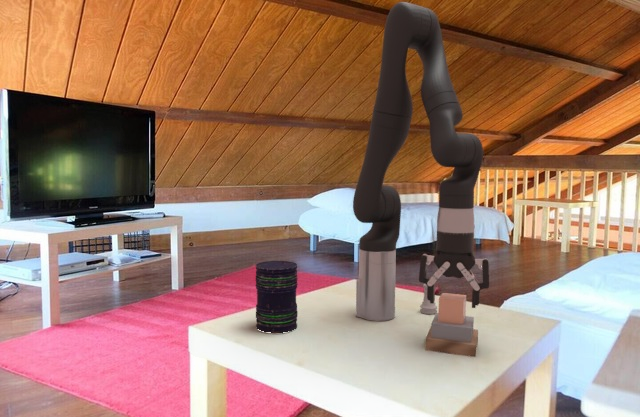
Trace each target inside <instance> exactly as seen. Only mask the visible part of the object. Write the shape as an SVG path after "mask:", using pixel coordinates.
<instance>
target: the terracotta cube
mask: <svg viewBox="0 0 640 417" xmlns="http://www.w3.org/2000/svg"><path fill="white" fill-rule="evenodd" d="M438 313H439V316H438V322H446V323H454V324H462V325H463V323H464V321H465V318H466V316H467V294H458V293H457V294H456V293H449V292H448V293H447V292H442V293H441V294H440V296H439V298H438Z"/></svg>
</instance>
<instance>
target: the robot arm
mask: <svg viewBox="0 0 640 417" xmlns="http://www.w3.org/2000/svg"><path fill="white" fill-rule="evenodd" d="M387 14H388V15H387V17H386V21H385V25H384V31H383V39H382V40H383V41H382V50H381V62H380V70H379V77H378V85H377V90H376V97H375V102H374V105H373V109H372V110H373V111H372V116H371V121H370V128H369V134H368V139H367V144H366V149H365V153H364V157H363V162H362V167H361V169H360V173H359V176H358V181H357V184H356V185H355V186H356V187H355V191H354V194H353V200H352V209H353V214H354V216H355V219H356V220H358V222H360V223H364V224H371V227H370V229H369V230H368V232H366V233H365V234H363V235H362V236H361V237H360V238H359V240H358V241H359V244H358V254H359V255H358V278H357V279H356V280H355V281H356V283H355V284H356V285H355V286H356V288H355V289H356V290H355V291H356V293H355V295H356V296H355V297H356V298H355V300H356V302H355V303H356V304H355V305H356V306H355V316H356V318H357V317H359V318H361V319H364V320H368V321H377V322H378V321H379V322H382V321H383V322H384V321H389V320H392V319H394V318H395V316H396V267H397V265H396V264H397V263H396V262H397V260H396V255H397V244H398V240H399V237H400V231H401V230H400V229H401V216H402V215H401V214H402V203H401V197H400V194H399V192H398V191H397V189H396V188H395V187H393V186H391V185H387V184H386V185H384V184H383V183H384V180H385V177H386V176H385V175H386V173H387V172H388V171H387V170H388V168H389V166H390V165H391V163H392V162H393V160H394V159H395V157H396V155H397V154H398V153H399V152H400V150H401V149H402V147H403V146H404V144H405V142H406V140H407V138H408V136H409V132H410V127H411V123H412V117H413V113H414V103H413V98H412V95H411V90H410V87H409V84H408V79H407V75H406V68H407V67H406V64H407V56H408V51H409V49H410V50H415V51H416V52H417V55H418V57H419V59H420V60H421V63H422V67H423V75H422V80H421V86H420V98H421V101H422V104H423V108H424V110H425V113H426V116H427V120H428V122H429V136H430V137H429V139H430V151H431V154H432V157H433V159H434V160H435V161H436V163H437V164H439V166H442V167H443V168H453V170H452V174H451V176H450V177H449V178H447V179H445V180H442V181H441V182H440V184H439V188H438V189H439V190H438V210H437V218H436V246H435V247H436V248H435V251H436V252H435V255H430V254H429V255H428V254H427V253H423V254H422V255H421V256H420V260H419V261H420V263H419V264H420V265H419V272H418V273H419V274H418V281H419V283H421V284H424V283H425V284H426V285H427V299H428V300H429V301H430V303H432V304H434V302H435V299H436V294H435V293H436V284H435V283H436V282H437V281H438V280H439V279H440V278H441V276H445V277H446V278H457V279H462V278H465V279H466V281H467V282H468V283H469V284H470V286H471V287H472V294H471V296H472V297H471V309H476V306H477V307H478V306H479V304H480V298H481V297H480V292H481V290H483V289H484V290H485V289H489V288H490V260H489V258H488V257H484V258H475V255H474V243H475V242H474V241H475V240H474V239H475V238H474V237H475V228H476V226H475V214H474V213H475V212H474V211H475V210H474V209H475V208H474V204H475V202H474V201H475V187H476V183H477V180H478V178H479V175H480V171H481V168H482V163H483V159H484V148H483V143H482V142H481V139H480V138H479V137H478V136H477V135H475V134H473V133H463V132H462V133H461V132H456V130H455V127H456V126H457V125H459V123H461V121H462V120H463V114H464V113H463V110H462V107H461V104H460V102H459V99H458V96H457V94H456V91H455V89H454V86H453V81H452V80H451V79H452V78H451V76H450V73H449V72H450V71H449V68H448V67H449V66H448V62H447V57H446V51H445V46H444V41H443V37H442V30H441V25H440V22H439V18H438V16H437V14H436V13H435V12H434V11H433V9H430V8H428V7H424V6H421V5H417V4H415V3H411V2H407V1H399V2H396V4H394V5H392V8H391V9H390V10H389V12H388V13H387ZM432 262H433V263H434V265H435V266H436V267H437V269H436V271H435V272H434V273H433V274H432V276H431V277H428V276H427V273H428V272H427V271H428V266H429V265H431V263H432ZM475 265H477V267H478V269H479V270H482V281H479V280H478V279H477V278H476V277H475V275H474V273H473V272H472V270H471V269H472V268H474V266H475Z"/></svg>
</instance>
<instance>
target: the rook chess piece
mask: <svg viewBox="0 0 640 417" xmlns="http://www.w3.org/2000/svg"><path fill="white" fill-rule="evenodd" d="M422 287H423V289H424V290H423V301H422V302H421V304H420V310H419V311H420V313H421V314H424V315H436V313H438V310H437V309H438V305H436V302H435V301H434V304H432V303H430V301H429V300H428V299H427V285H426V284H425V283H423V285H422Z"/></svg>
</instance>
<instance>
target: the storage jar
mask: <svg viewBox="0 0 640 417" xmlns="http://www.w3.org/2000/svg"><path fill="white" fill-rule="evenodd" d="M255 269H256V270H255V290H256V304H255V319H256V320H255V322H256V325H255V328H256V327H257V328H256V330H257V329H259V330H261V331H264V332H271V333H282V334H284V333H283V332H288V331H291V332H293V331H292V330H294V329H295V330H296V329H297V328H298V323H297V321H298V317H299V316H298V303H297V288H298V270H297V269H298V263H296V262H294V261H286V260H269V261H268V260H267V261H262V262H258V263H256V264H255ZM295 330H294V331H295ZM288 333H289V332H288Z"/></svg>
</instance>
